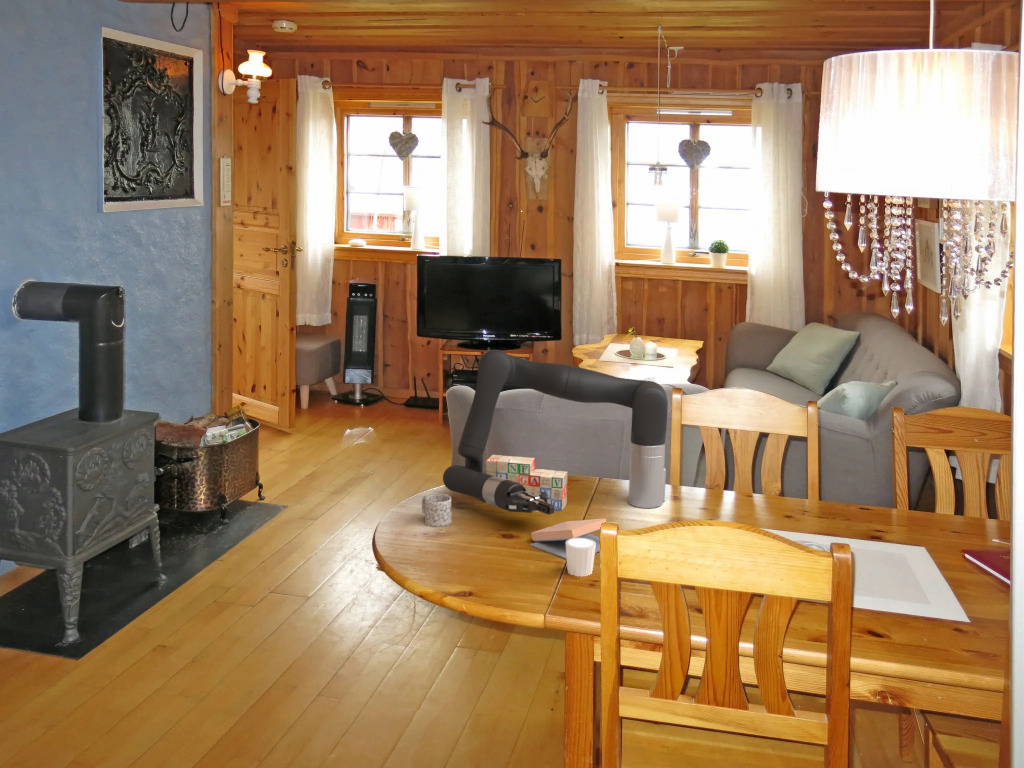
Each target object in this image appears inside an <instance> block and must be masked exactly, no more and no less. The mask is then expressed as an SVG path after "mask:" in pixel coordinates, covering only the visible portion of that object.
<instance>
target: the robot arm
mask: <svg viewBox="0 0 1024 768" xmlns="http://www.w3.org/2000/svg"><path fill="white" fill-rule="evenodd" d="M477 369H478V371H477V379H476V387H475V389H474V390H475V391H474V395H473V400H472V403H471V406H470V409H469V411H468V412H469V413H468V416H467V418H466V421H465V424H464V427H463V431H462V433H461V437H460V441H459V444H458V447H457V453H458V455H460V456H461V457H463V458H464V466H463V465H458V464H454V465H450V466H449V467H447V468H446V469H445V470H444V472H443V474H442V481H443V484H444V487H445V488H447V489H448V490H449V491H452V492H454V493H458V494H461V495H466V496H470V497H473V498H475V499H478V500H480V501H484V502H485V503H486V502H488V503H487V504H490V505H491V506H494V507H496V508H499V509H502V510H505V511H507V512H510V513H526V514H533V512H535V513H539V512H540V513H543V514H546V515H552V514H554V513H555V510H554V505H552V504H549V503H547V500H548V498H547V496H546V493H545V492H540V494H539V495H535V494H534V493H532V492H529V491H526V489H525V488H524V486H523V485H522V484H520V483H517V482H514V481H511V480H508V479H504V478H501V477H495V476H492V475H489V474H486V472H485V473H484V472H483V468H484V467H483V466H484V465H483V464H484V453H485V450H486V447H487V443H488V440H489V437H490V433H491V429H492V423H493V418H494V414H495V409H496V406H497V402H498V399H499V397H500V394H501V392H502V389H503V388H504V385H505V386H514V387H521V388H527V389H531V390H534V391H536V392H539V393H541V394H545V395H548V396H550V397H553V398H554V397H555V398H558V399H561V400H567V401H572V402H575V403H585V404H600V403H601V404H602V403H603V404H615V405H618V406H624V407H627V408H630V409H632V410H631V429H630V450H629V451H630V452H629V455H630V456H629V458H630V459H629V477H628V480H629V481H628V482H629V483H628V500H627V501H628V504H630V505H632V506H634V507H636V508H643V509H644V508H645V509H653V508H660V507H661V506H662V505H663V503H665V500H666V499H665V498H666V496H665V495H666V478H667V476H666V475H667V469H666V467H665V459H666V458H665V457H666V456H665V455H666V437H667V436H666V435H667V429H668V427H667V425H668V410H669V409H668V408H669V407H668V404H669V403H668V396H667V393H666V391H665V388H664V387H663V386H662V385H661V384H659V383H658V382H655V381H652V380H644V379H643V380H641V379H633V378H623V377H618V376H613V375H610V374H607V373H603V372H599V371H595V370H592V369H588V368H584V367H580V366H575V365H571V364H564V363H563V364H562V363H555V362H541V361H540V362H539V361H537V362H536V361H531V360H527V359H525V358H520V357H517V356H514V355H512V354H508V353H506V352H505V351H503V350H500V349H490V350H488V351H486V352H485V353H483V355H482V356H481V357H480V358H479V360H478V365H477Z"/></svg>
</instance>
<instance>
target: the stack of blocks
mask: <svg viewBox="0 0 1024 768" xmlns="http://www.w3.org/2000/svg"><path fill="white" fill-rule="evenodd" d="M485 474H489V475H492V476H495V477H501V478H504V479H508V480H511V481H514V482H517V483H520V484H522V485H523V486H524V488H525V489H526V491H529V492H532V493H534V494H535V495H539V494H540V492H545V493H546V496H547V498H548V500H547V503H549V504H552V505H554V511H558V512H559V511H561V512H562V511H563V510H564V508H565V507H566V506H567V503H568V501H567V500H568V497H567V496H568V495H567V494H568V475H569V474H568V471H564V470H553V469H544V468H543V469H540V468H536V458H535V457H527V456H526V457H524V456H511V455H501V454H499V455H498V454H492V455H491V456H490V457H488V458H487V459H486V460H485ZM485 504H489V503H488V502H485Z"/></svg>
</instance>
